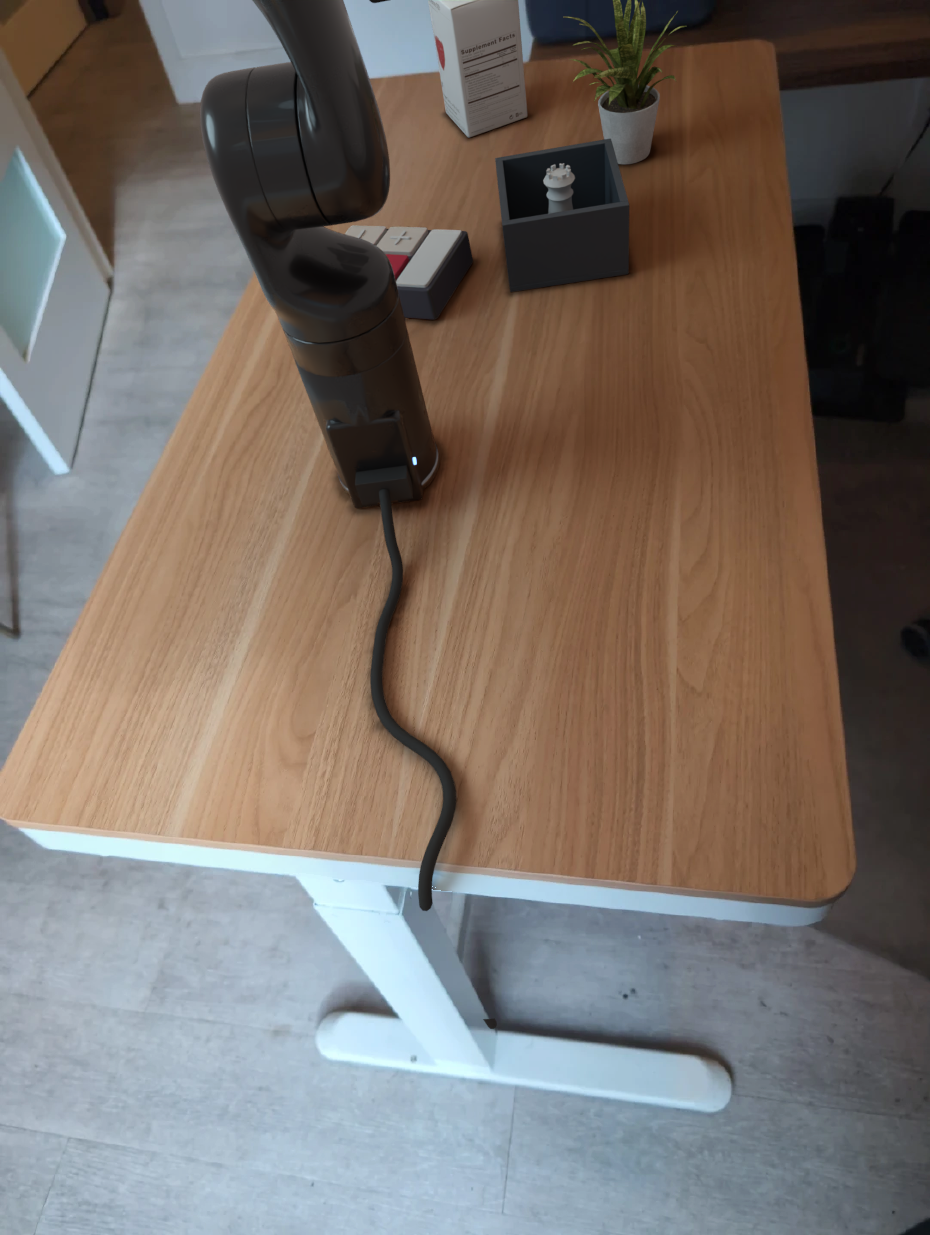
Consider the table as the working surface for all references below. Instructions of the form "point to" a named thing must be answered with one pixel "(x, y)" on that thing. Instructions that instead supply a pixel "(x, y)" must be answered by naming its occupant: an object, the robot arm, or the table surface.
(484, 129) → the white product box
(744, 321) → the table surface
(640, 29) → the house plant
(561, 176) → the rook chess piece
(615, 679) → the table surface
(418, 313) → the calculator
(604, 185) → the bin
